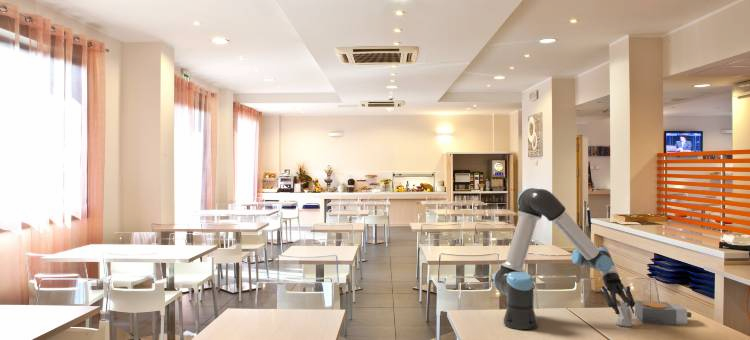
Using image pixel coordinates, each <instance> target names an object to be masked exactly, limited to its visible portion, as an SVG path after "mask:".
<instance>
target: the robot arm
mask: <svg viewBox="0 0 750 340" xmlns="http://www.w3.org/2000/svg"><path fill="white" fill-rule="evenodd" d="M517 206H518V207H517V208H518V209H517V214H518V219H517V223H516V227H515V230H514V233H513V237H512V240H511V242H510V246H509V250H508V252H507V256H506V259H505V262H502V263H501V264H500V267H499V270H497V271H495V274H494V275H493V285H494V287H495V288H496V289H497V291H499V292H500V293H501V294H502V295H505V296H506V299H507V303H506V304H507V305H506V307H507V308H506V311H505V313H504V317H503V325H504V324H505V325H507V326H509V327H511V328H510V329H513V328H515V329H514V330H519V329H531V330H535V329H537V328H538V318H537V315H536V312H535V310H534V309H535V308H534V286H535V282H534V278H533V276H532V275H530V273H527V272H525V270H524V264H525V262H526V259H527V255H528V252H529V248H530V245H531V241H532V239H533V235H534V233H535V229H536V225H537V222H538V221H539V220H541V219H542V217H543V216H544V217H545V218H546V219H547V221H549V222H552V223H553V224H554V225H555V226H556V228H558V230H559V231H560V232H561V233H562V234H563V235H564V236H565V237H566V239H567V240H568V241H569V242H570V243H571V244H572V246H574V247H575V249H574V250H573V251H572V253H571V261H572V263H573V264H574V265H576V266H577V265H578V266H584V267H588V268H590V269H593V270H596V271H599V273H600V276H601V278H602V282H603V284H604V285H603V286H602V287H601V288H600V292H602V294H603V297H604V299H605V301H606V304H607V306H608V307H609V308H612V310H614V313H615V315H618V316H619V319H620V321H621V322H623V320H624V316H623V314H622V311H621V305H618V302H617V296H616V295H618V296H619V297H620V298H621V300H622V302H624V303H628V305H627V310H628V314H629V317H630V319H631V322H632V323H634V321H635V320H636V316H635V309H634V308H635V300H634V297H633V295H632V292H631V286H629V285H627V286H624V284H623V283H622V280H621V277H620V275H619V272H618V271H617V268H616V265H615V264H614V261H613V259H612V256H611V254H610V251H609V250H608V249H607V248H606V247H604V246H600V247H597V246H596V244H594V242H593V241H592V239H591V238H589V236H588V235H587V234H586V233H585V232H584V231H583V230H582V229H581V228H580V226H579V225H578V224H577V223H576V221H575V220H574V219H573V218H572V217H571V216H570V215H569V214H568V212H567V211H566V209H567V208H566V206H565V205H563V203H562V202H561V201H560V200H559V199H558V198H557V197H556V196H555V195H554V194H553V193H552V192H551V191H549V190H547V189H544V188H534V187H533V188H530V187H529V188H526V189H523V190H522V191H521V192H520V193H519V195H518V197H517ZM505 325H504V326H505ZM507 326H506V327H507ZM509 327H508V328H509Z"/></svg>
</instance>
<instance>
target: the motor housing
mask: <svg viewBox="0 0 750 340" xmlns="http://www.w3.org/2000/svg"><path fill="white" fill-rule="evenodd" d="M634 302H635V305H634V316H635V317H636V318H637V319H638V320H639V321H640V322H641V323H642V324H652V325H667V326H677V325H681V324H687V325H688V318H692V312H690V311H688V309H687V308H685V307H684V306H683V305H682V304H680V303H668V302H667V301H666V302H665V301H651V300H650V301H648V300H647V301H646V300H634Z"/></svg>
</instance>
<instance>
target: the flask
mask: <svg viewBox="0 0 750 340" xmlns="http://www.w3.org/2000/svg"><path fill="white" fill-rule="evenodd" d="M619 304H620V309H621V311H622V314H623V316H624V320H623V322H621V321H620V319H619V316H618V317H617V318H616V321H615V325H617V326H620V327H624V328H625V327H626V328H627V327H633V322H631V319H630V317H629V314H628V310H627V305H628V303H624V301H622V302H621V301H620V302H619Z"/></svg>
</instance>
